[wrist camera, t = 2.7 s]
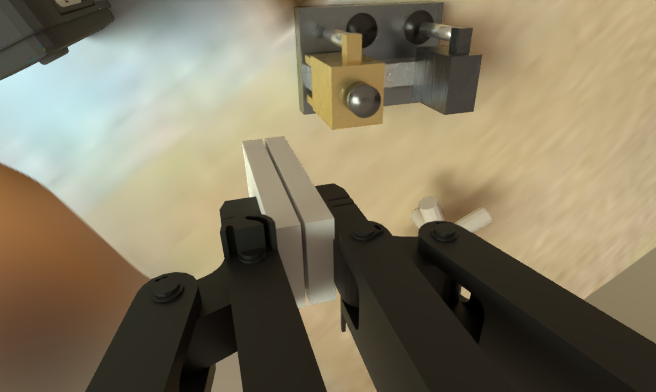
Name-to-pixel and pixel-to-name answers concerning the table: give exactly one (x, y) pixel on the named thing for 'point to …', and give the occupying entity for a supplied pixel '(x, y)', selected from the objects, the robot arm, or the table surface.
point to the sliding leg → (346, 83)
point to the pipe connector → (432, 212)
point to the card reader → (45, 29)
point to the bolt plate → (397, 52)
